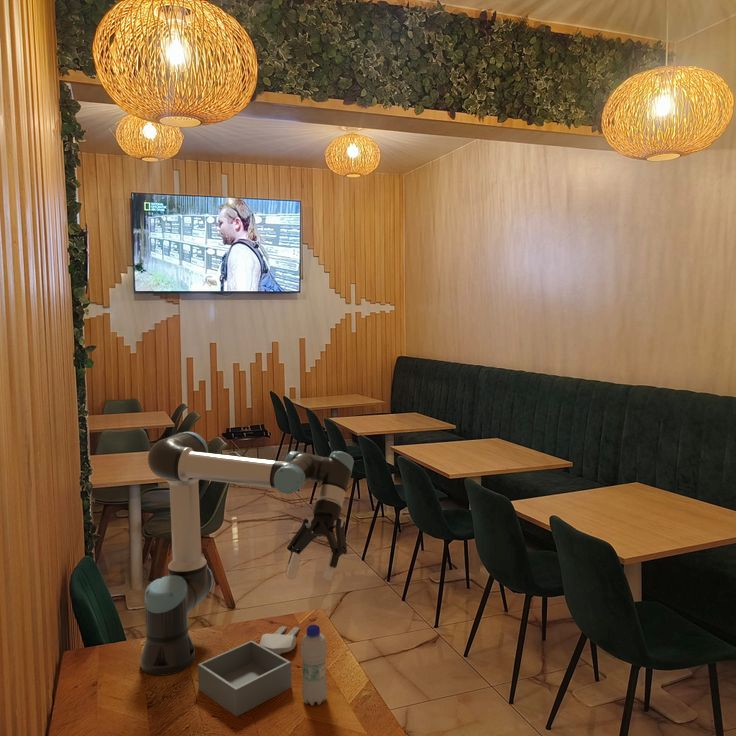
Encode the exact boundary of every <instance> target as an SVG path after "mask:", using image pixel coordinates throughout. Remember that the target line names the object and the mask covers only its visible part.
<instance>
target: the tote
mask: <svg viewBox="0 0 736 736" xmlns="http://www.w3.org/2000/svg"><path fill="white" fill-rule="evenodd" d="M259 644H260V643H257V642H256V641H254V640H252V639H251V640H250V641H248V642H245V643H242V644H240V645H238V646H236V647H233V648H231V649H229V650H227V651H225V652H223V653H220V654H218V655H216V656H213V657H211V658H209V659H207V660H205V661H203V662H201V663H200V662H199V663H198V664H197V678H198V679H197V680H198V683H197V685H198V688H197V689H198V691H200V693H202V694H204V695H205V696H206V697H208V698H210V700H213V702H215V703H217V704H218V705H219V704H220V705H219V706H221V707H222V708H224V709H225V710H226V709H227V710H226V711H228V712H230V713H231V714H232V715H234V716H235V717H239V716H241V715H243V714H244V713H246V712H248V711H250V710H251V709H253V708H256V707H257V706H259V705H261V704H263V703H264V702H265V703H266V701H268V700H270V699H272V698H274V697H276V696H278V695H280V694H282V693H284V692H286V691H287V690H289V689H290V688H292V662H291V661H290V660H288V659H286V658H284V657H282V656H281V655H277V654H276V653H274V652H272V651H270V650H268V649H267V648H265V647H263V646H261V645H259Z"/></svg>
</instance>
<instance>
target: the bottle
mask: <svg viewBox="0 0 736 736" xmlns="http://www.w3.org/2000/svg"><path fill="white" fill-rule="evenodd" d="M320 631H321V630H320V627H319V625H317V624H310V625H308V626H307V628H306V634H305V635H304V636H303V637H302V638H301V647H300V653H301V654H300V657H301V659H302V661H301V662H302V689H301V691H302V693H301V694H302V697H303V701H304V703H306V704H307V705H308V704H310V706H314V705H315V703H317V705H321V704H322V702H325V701H326V699H327V691H328V690H327V689H328V688H327V680H326V679H327V678H326V673H327V672H326V670H327V669H326V656H327V650H328V648H327V643H326V637H325V635H323V634H322V633H321V632H320Z"/></svg>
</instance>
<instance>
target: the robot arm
mask: <svg viewBox="0 0 736 736" xmlns="http://www.w3.org/2000/svg"><path fill="white" fill-rule="evenodd" d="M354 463H355V460H354V458H353V456H352V455H351V454H349V453H347V452H344V451H341V450H334V451H332V452H331V453H330V455H329V456H328V457H327V456H320V455H315V454H312V453H307V452H303V451H295V450H294V451H293V450H291V451H289V452H288V453H287V455H286V457H285V459H284V461H282V460H280V461H279V460H272V459H264V458H256V457H247V456H246V457H245V456H238V455H237V456H236V455H229V454H219V453H211V452H209V447H208V444H207V442H206V440H205V439H204V438H203V437H202V436H201V435H200V434H198V433H197V432H192V431H184V432H178V433H176V434H173V435H171V436H169V437H166V438H163V439H160V440H158V441H157V442H155V443H154V444H153V445H152V446H151V448H150V450H149V451H148V455H147V464H148V466H149V468H150V470H151V472H152V473H153V474H154V475H155V476H156V477H159V478H161V479H164V481H166V483H168V484H169V503H170V523H171V524H170V525H171V526H170V527H171V530H170V531H171V546H172V548H171V549H172V560H171V561H170V562H169V563H168V565H167V575H165V576H162V577H160V578H156V579H155V580H153V581H151V582H150V584H147V587H146V588H145V591H144V599H143V601H144V602H143V603H144V615H145V617H144V618H145V632H146V635H145V636H146V637H145V638H146V640H145V642H144V646H143V648H142V653H141V656H140V668H141V670H142V672H144V673H146V674H149V675H153V676H166V675H172V674H176V673H179V672H181V671H184V670H185V669H188V668H189V667H190V666H191V665H192V664H193V663H194V662H195V661H196V649H195V645H194V643H193V641H192V638H191V635H190V633H189V619H188V616H189V615H188V614H190V613H191V612H192V611H193V610H194V609H196V607H197V606H199V604H200V603H202V602H203V601H204V600H205V599H206V598H207V597H208V595H209V593H210V592H211V591H212V588H213V585H214V574H213V571H212V570H211V569H210V568H209V567H208V565H207V564H208V562H207V559H206V558H204V557H203V556H202V539H201V538H202V537H201V517H200V516H201V515H200V493H199V491H200V490H199V486H200V485H199V481H200V480H201V481H203V480H204V481H210V482H211V481H212V482H219V483H226V484H236V485H237V484H238V485H243V486H244V485H245V486H251V487H252V486H253V487H261V488H262V487H263V488H271V489H276V490H278V491H279V492H280V493H282V494H285V495H290V494H294V493H295V492H298V491H300V490H301V489H302V488H303V487H304V485H305V484H307V483H308V482H309V481H311V482H314V483H315V482H316V483H321V484H320V487H319V491H318V494H317V497H316V502H315V504H314V508H313V511H312V513H313V518H312V520H309V519H307V518H304V519H303V521H302V524H301V526H300V527H299V529H298V531H296V534H295V535H294V537H293V538H292V539H291V540H290V542H289V543H288V545H287V548H286V549H287V550H288V551H290V556H289V560H288V566H287V571H286V573H285V576H286V577H288V578H289V579H292V580H294V579H295V577H296V575H297V574H296V573H297V570H298V567H299V563H300V560H301V557H302V556H301V553H302V552H303V551H304V550H305V548H306V547H307V546H309V544H310V543H311V542H312V541H313V540H314V539H317V538H320V537H324V538H326V539H327V542H328V544H329V547H330V553H328V556H327V560H326V564H325V567H324V571H323V574H322V578H323V579H325V580H326V581H327V582H332V579H333V576H334V572H335V569H337V566H338V563H339V559H340V557H341V556H342V555H346V554H347V552H348V549H347V542H346V541H347V540H346V533H345V528H346V527H345V526H346V522H345V520H343V519H341V518H340V516H341V512H342V507H343V504H344V501H345V498H346V494H347V490H348V486H349V483H350V479H351V476H352V473H353V468H354ZM334 529H335V531H334Z"/></svg>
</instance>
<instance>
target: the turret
mask: <svg viewBox="0 0 736 736" xmlns="http://www.w3.org/2000/svg"><path fill="white" fill-rule="evenodd" d="M287 628H288V627H287V626H285V625H283V626H280V627H279V628H278V629H277V630H276V631H275V632H274V633H264V634H262V635H261V638H260V641H259V643H258V644H259V645H261V646H263V647H265V648H267V649H268V650H270V651H272V652H274V653H276V654H277V655H279V656H281V655H282V654H284V653H289V652H291V651H292V650H294V649H295V647H296V644H297V638H298V637H297V636H296V635H297V634H298V633H299V631H300V629H301V628H300V627H298V626H294V627H293V628H292V629H291V630H290V631H289V632H288V633H287V634H284V633H285V632H286V631H287Z"/></svg>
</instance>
